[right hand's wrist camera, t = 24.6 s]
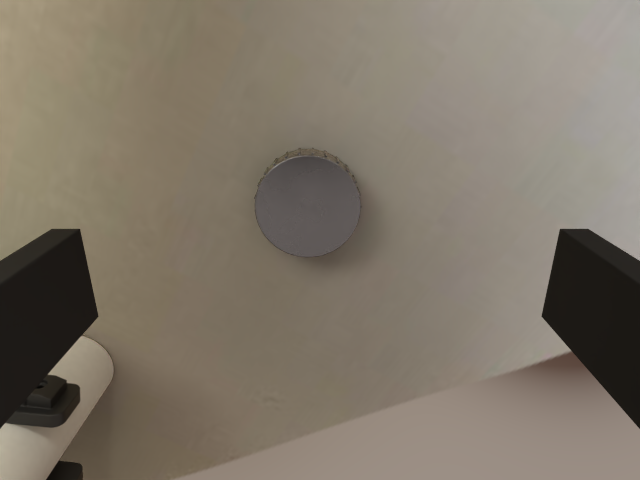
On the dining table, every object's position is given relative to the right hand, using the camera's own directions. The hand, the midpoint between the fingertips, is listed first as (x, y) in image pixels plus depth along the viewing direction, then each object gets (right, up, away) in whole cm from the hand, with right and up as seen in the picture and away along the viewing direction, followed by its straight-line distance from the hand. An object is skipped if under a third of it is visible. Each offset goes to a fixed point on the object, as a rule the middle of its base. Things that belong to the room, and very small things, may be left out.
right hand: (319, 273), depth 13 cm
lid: (-1, +3, +10) cm, 10 cm away
